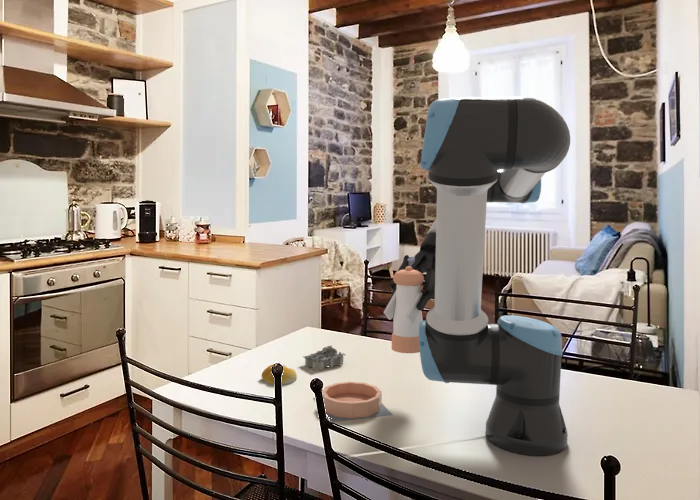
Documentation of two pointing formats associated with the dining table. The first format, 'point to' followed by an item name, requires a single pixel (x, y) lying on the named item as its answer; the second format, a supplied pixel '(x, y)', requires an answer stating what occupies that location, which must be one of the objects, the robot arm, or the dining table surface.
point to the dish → (352, 399)
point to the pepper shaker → (406, 292)
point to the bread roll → (287, 376)
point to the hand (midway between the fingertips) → (398, 317)
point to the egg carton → (324, 358)
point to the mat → (382, 412)
